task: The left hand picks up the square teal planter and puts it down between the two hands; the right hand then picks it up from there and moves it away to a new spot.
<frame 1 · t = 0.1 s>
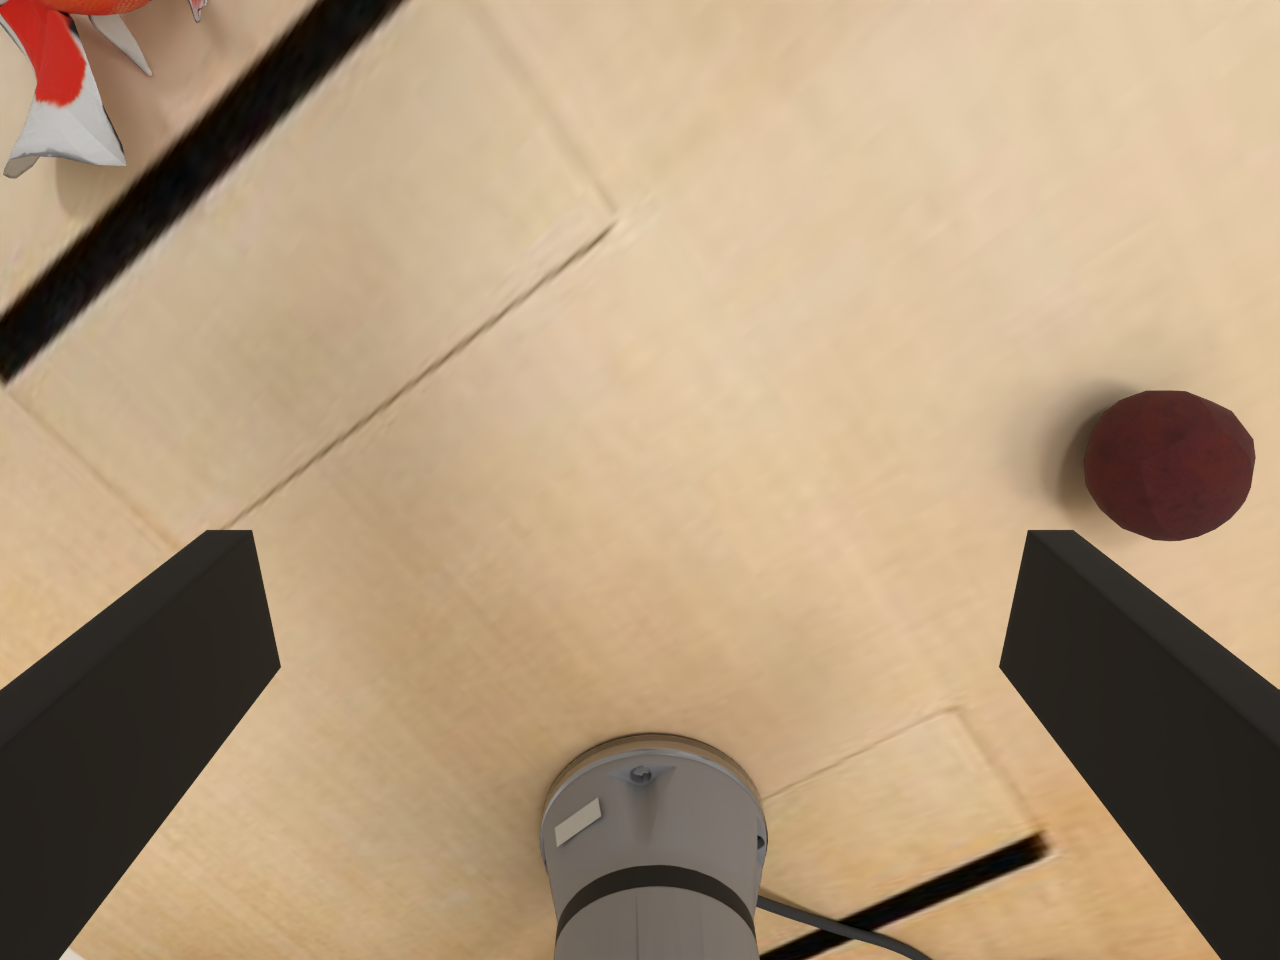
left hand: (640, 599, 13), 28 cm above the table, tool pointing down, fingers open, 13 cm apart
fish: (134, 42, 34), on the table
dark red ball: (1121, 440, 41), on the table
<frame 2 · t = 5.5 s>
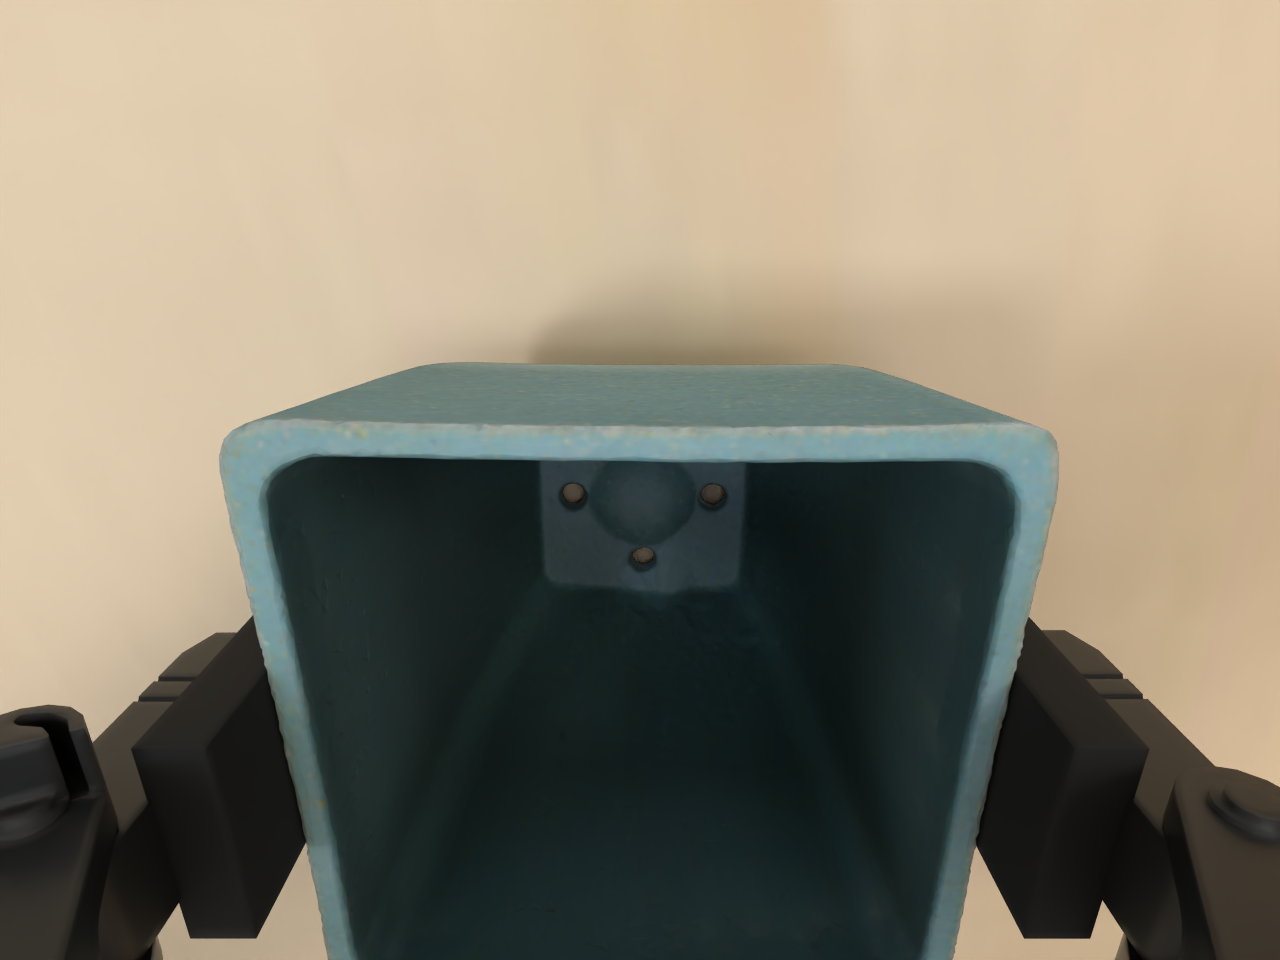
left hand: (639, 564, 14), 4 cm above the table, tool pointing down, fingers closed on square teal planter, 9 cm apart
square teal planter: (639, 492, 17), on the table, touching left hand
when the left hand's fingers open (5 cm above the table, at t = 18.9 s): square teal planter drops 2 cm, on the table.
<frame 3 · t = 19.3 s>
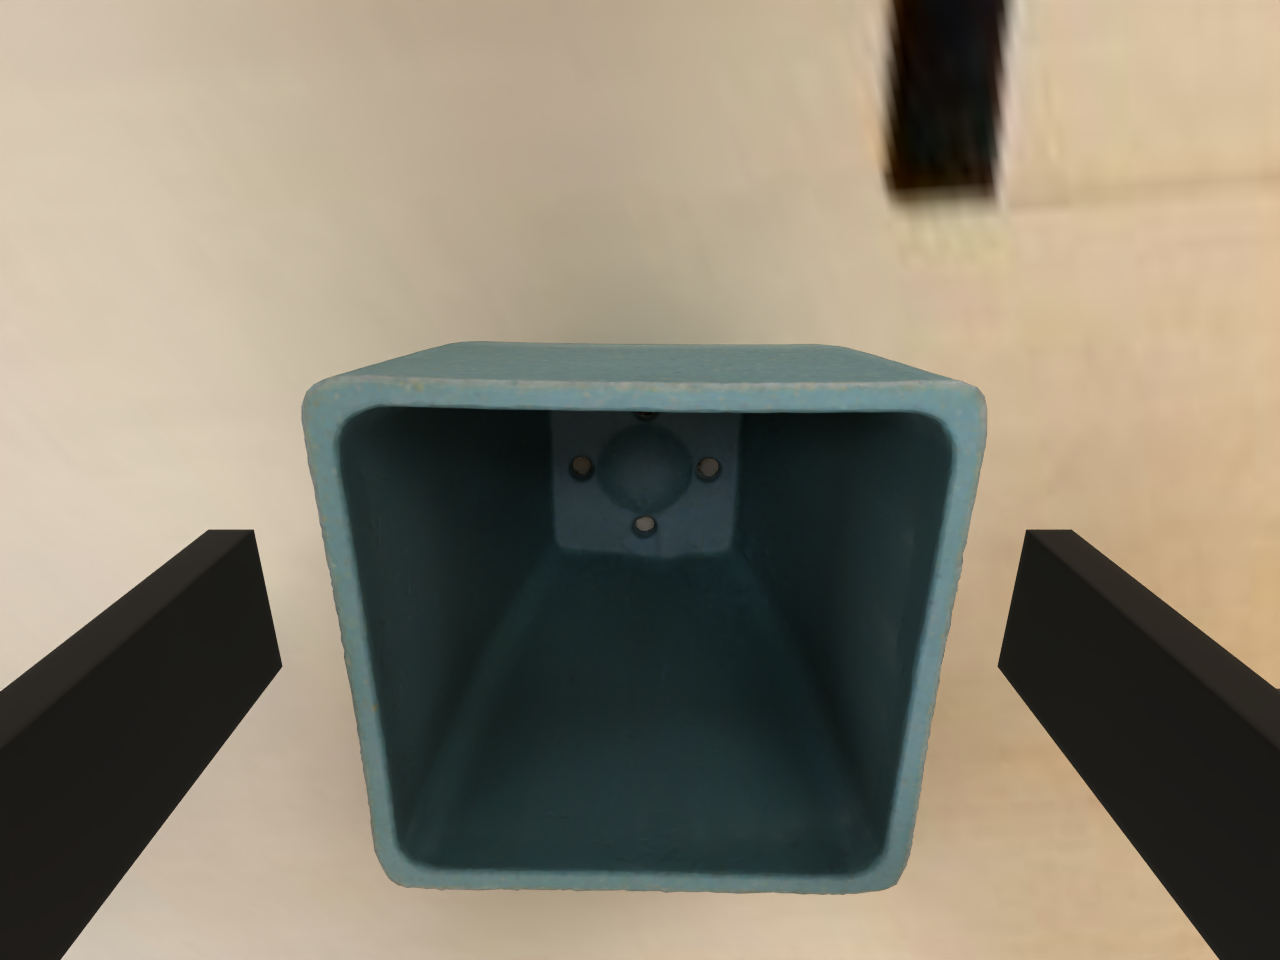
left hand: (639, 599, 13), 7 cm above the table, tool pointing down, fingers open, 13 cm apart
square teal planter: (641, 465, 19), on the table
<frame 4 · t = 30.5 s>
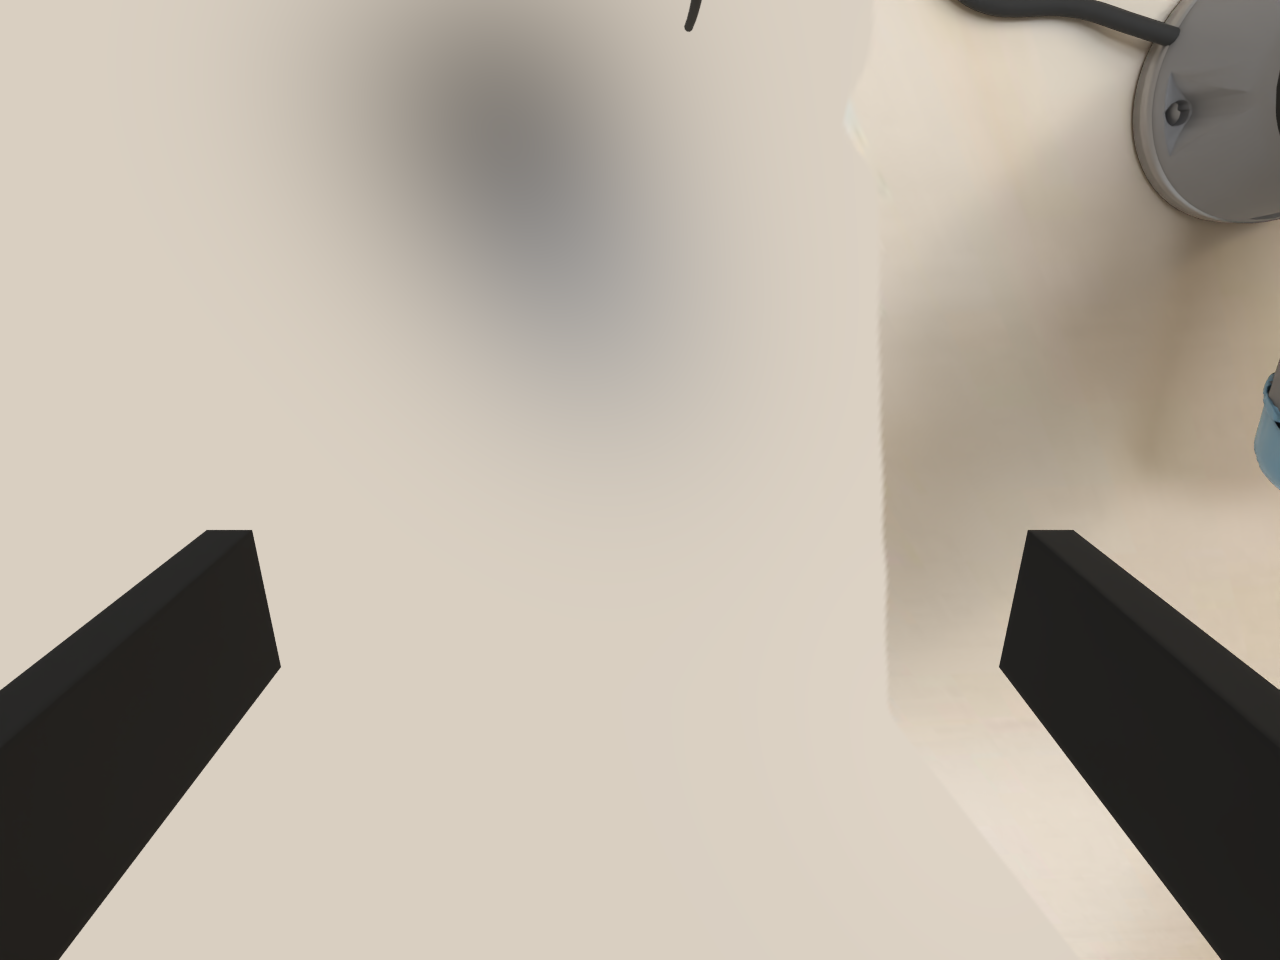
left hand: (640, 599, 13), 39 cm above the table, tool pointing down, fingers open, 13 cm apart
when the right hand's fingers open (5 cm above the table, at t = 36.3 s): square teal planter drops 2 cm, on the table.
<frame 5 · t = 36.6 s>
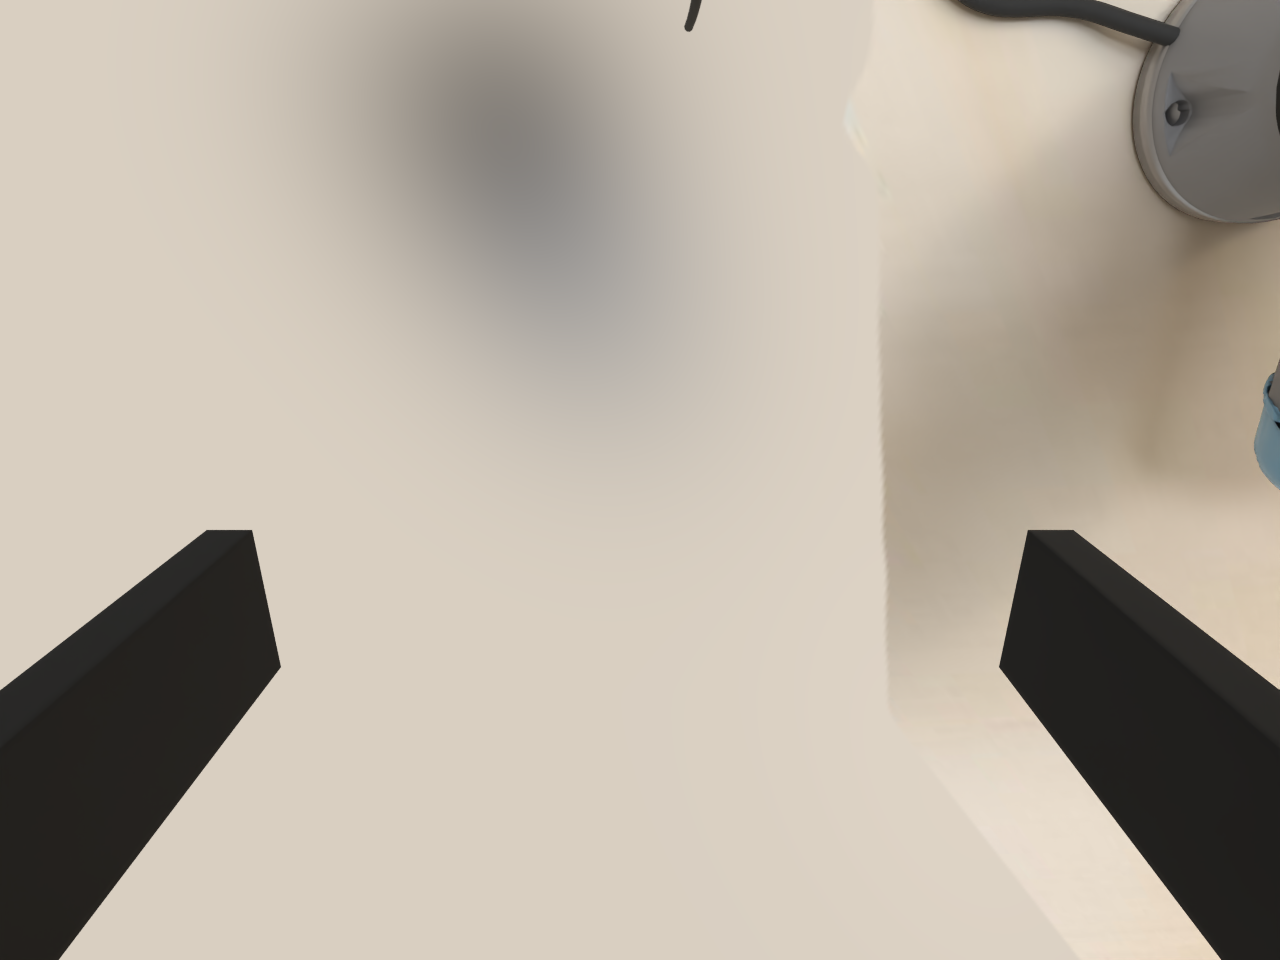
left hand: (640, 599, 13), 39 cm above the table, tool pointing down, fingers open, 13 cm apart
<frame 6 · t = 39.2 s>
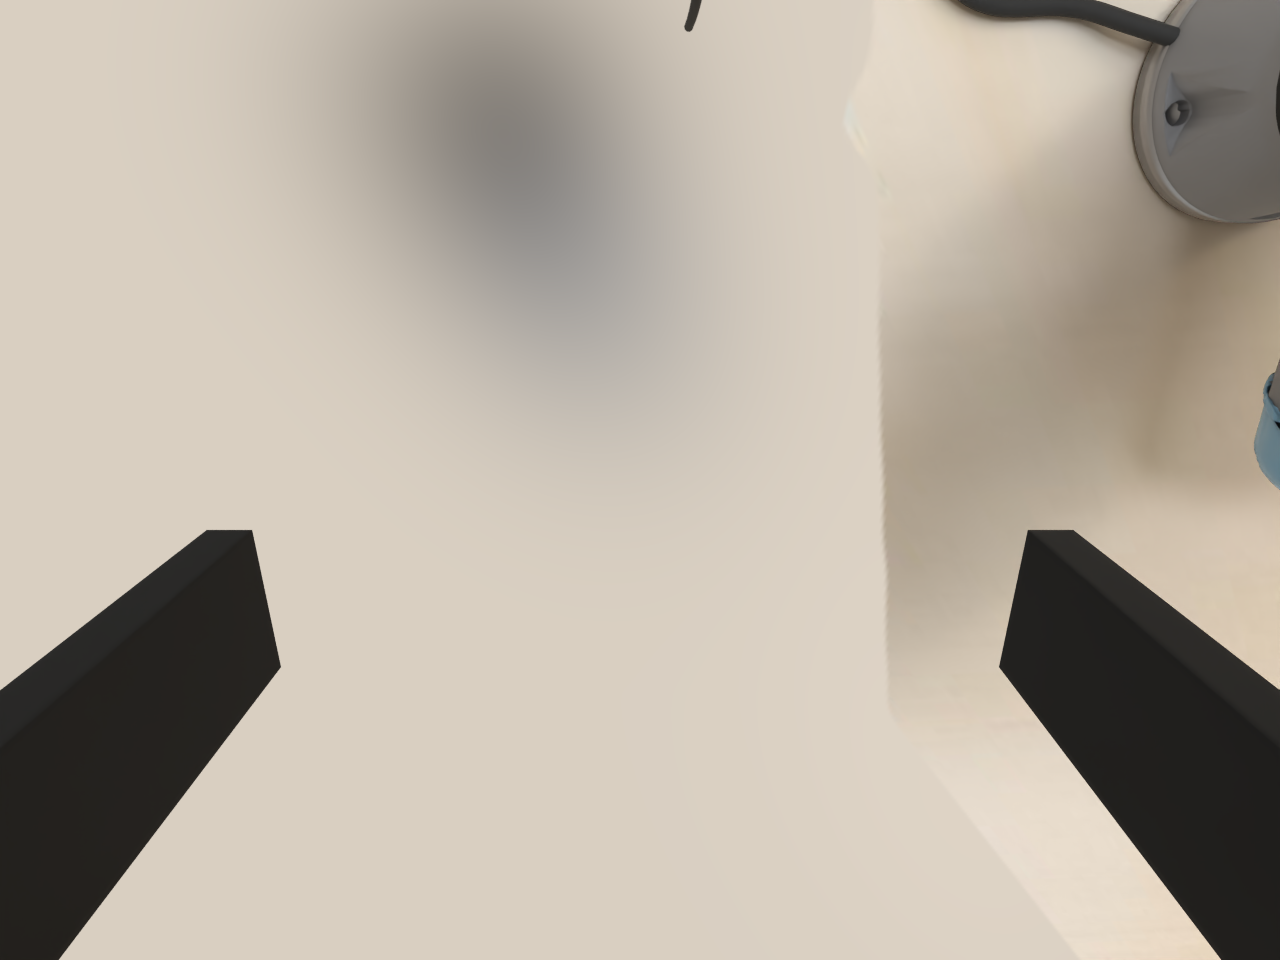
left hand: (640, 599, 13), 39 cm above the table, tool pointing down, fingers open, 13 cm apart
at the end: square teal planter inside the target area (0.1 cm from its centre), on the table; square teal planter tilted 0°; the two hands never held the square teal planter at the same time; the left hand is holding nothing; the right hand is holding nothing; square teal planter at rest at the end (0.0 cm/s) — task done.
